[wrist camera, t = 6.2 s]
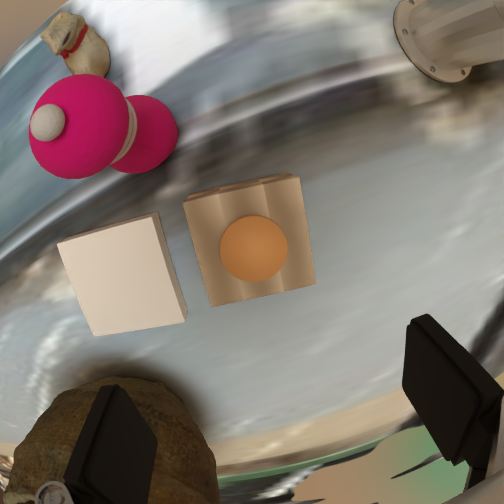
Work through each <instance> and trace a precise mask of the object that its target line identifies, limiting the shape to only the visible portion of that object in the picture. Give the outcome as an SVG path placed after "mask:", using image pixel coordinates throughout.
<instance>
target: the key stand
mask: <svg viewBox="0 0 504 504" xmlns="http://www.w3.org/2000/svg"><path fill="white" fill-rule="evenodd" d="M183 207H184V210H185V214H186V218H187V222H188V226H189V230H190V233H191V237H192V241H193V245H194V248H195V252H196V255H197V259H198V263H199V266H200V270H201V273H202V277H203V280H204V284H205V287H206V291H207V294H208V297H209V301H210V304H211V307H214V306H219V305H224V304H228V303H233V302H238V301H243V300H248V299H252V298H257V297H261V296H266V295H271V294H275V293H280V292H284V291H288V290H293V289H297V288H301V287H306V286H310V285H314V284H316V281H315V273H314V266H313V259H312V252H311V246H310V239H309V233H308V226H307V220H306V214H305V208H304V202H303V196H302V191H301V185H300V180H299V177H297V176H294V175H291V174H289V173H282V174H277V175H272V176H267V177H262V178H257V179H253V180H248V181H243V182H239V183H234V184H230V185H225V186H221V187H216V188H212V189H208V190H203V191H199V192H195V193H191V194H190V195H189V196H188V197H187V199H186V200H185V201H184V202H183ZM247 215H260V216H264V217H267V218H269V219H271V220H272V221H274V222H275V223H276V224H277V225H278V226H279V227H280V229H281V230H282V232H283V233H284V235H285V237H286V240H287V245H288V253H287V258H286V261H285V263H284V265H283V266H282V268H281V269H280V270H279V271H278V272H277V273H276V274H275V275H274V276H272V277H271V278H269V279H266V280H264V281H259V282H247V281H243V280H240V279H238V278H236V277H234V276H233V275H232V274H230V273H229V272H228V271H227V269H226V268H225V266H224V265H223V263H222V260H221V256H220V245H221V239H222V236H223V233H224V232H225V230H226V229H227V227H228V226H229V225H230V224H231V223H232V222H234V221H235V220H237V219H238V218H241V217H243V216H247Z"/></svg>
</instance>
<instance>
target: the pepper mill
mask: <svg viewBox="0 0 504 504" xmlns="http://www.w3.org/2000/svg"><path fill="white" fill-rule="evenodd" d="M177 138H178V130H177V126H176V123H175V121H174V118H173V116H172V114H171V112H170V110H169V109H168V108H167V107H166V106H165V105H164V104H163V103H162V102H160V101H159V100H157V99H155V98H152V97H149V96H144V95H133V96H129V97H125V98H124V96H123V94H122V92H121V91H120V89H119V88H118V87H117V86H115V85H114V84H113V83H112V82H111V81H109V80H108V79H106V78H104V77H101V76H97V75H93V74H76V75H72V76H69V77H66V78H63V79H61V80H60V81H58V82H56V83H55V84H53V85H52V86H51V87H50V88H48V89H47V91H46V92H45V93H44V94H43V95H42V96H41V97H40V99H39V100H38V102H37V104H36V106H35V108H34V110H33V113H32V116H31V119H30V125H29V140H30V146H31V149H32V152H33V154H34V156H35V158H36V160H37V161H38V162H39V164H40V165H41V166H42V167H43V168H44V169H45V170H47V171H48V172H50V173H51V174H53V175H55V176H57V177H62V178H66V179H81V178H85V177H89V176H92V175H94V174H96V173H98V172H100V171H102V170H103V169H104V168H106V167H107V166H108V165H110V166H111V167H113V168H114V169H116V170H118V171H121V172H125V173H143V172H147V171H149V170H152V169H153V168H155V167H157V166H158V165H160V164H161V163H162V162H163V161H164V160H165V159H166V158H167V157H168V156H169V155H170V154H171V153H172V151H173V150H174V148H175V146H176V143H177Z"/></svg>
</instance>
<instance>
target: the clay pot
mask: <svg viewBox="0 0 504 504" xmlns="http://www.w3.org/2000/svg"><path fill="white" fill-rule="evenodd" d="M113 384H118V385H119V386H120V387H121V388H124V389H125V390H126V392H127V393H128V395H129V396H130V398H131V400H132V401H133V403H134V404H135V406H136V407H137V409H138V411H139V412H140V414H141V415H142V417H143V418H144V420H145V421H146V422H147V424H148V425H149V427H150V428H151V430H152V431H153V433H154V434H155V435H156V437H157V441H158V446H157V452H156V457H155V462H154V468H153V474H152V480H151V485H150V492H149V498H148V504H220V495H219V487H218V481H217V475H216V460H215V457H214V454H213V452H212V451H211V450H210V448H209V447H208V445H207V443H206V441H205V439H204V437H203V435H202V433H201V432H200V430H199V428H198V426H197V425H196V424H195V422H194V421H193V419H192V418H191V416H190V415H189V414H188V412H187V411H186V409H185V407H184V405H183V402H182V400H181V399H180V398H179V397H177V396H176V395H174V394H173V393H171V392H170V391H168V390H167V389H166V387H165V385H164V384H163V383H162V382H160V381H147V380H144V379H139V378H126V377H125V378H122V377H121V375H120V376H111V377H107V378H102V379H98V380H94V381H92V382H90V383H87V384H85V385H83V386H81V387H79V388H76V389H72V390H67V391H64V392H62V393H61V394H59V395H58V396H57V397H56V398H55V399H54V400H53V402H52V404H51V406H50V407H49V408H48V409H47V410H46V411H45V412H44V413H43V414H42V415H41V416H40V417H39V418H38V420H37V421H36V423H35V425H34V426H33V428H32V430H31V431H30V432H29V433H28V434H27V436H26V437H25V439H24V440H23V442H22V443H20V444H19V445H18V446H17V447H16V448H15V451H14V464H13V467H12V470H11V472H10V477H9V483H8V485H7V487H6V490H5V492H4V493H3V502H4V504H35V495H36V493H37V491H38V489H39V488H40V487H41V486H42V485H43V484H45V483H47V482H50V481H58V482H61V483H62V484H64V482H65V480H64V479H63V475H64V473H65V470H66V467H67V465H68V462H69V460H70V457H71V454H72V452H73V449H74V447H75V444H76V442H77V440H78V437H79V435H80V432H81V430H82V427H83V425H84V423H85V420H86V418H87V416H88V413H89V411H90V409H91V407H92V404H93V402H94V400H95V398H96V395H97V393H98V391H99V389H100V387H101V386H103V385H113Z"/></svg>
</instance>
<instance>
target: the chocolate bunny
mask: <svg viewBox="0 0 504 504" xmlns="http://www.w3.org/2000/svg"><path fill="white" fill-rule="evenodd" d="M41 38H42V39H43V40H44V41H45V42H46V43H47V44H49V45H50V47H51V50H52V52H53V53H54V54H55V55H56V56H57V55H59V54H61V56H63V58H64V60H65V63H66V64H67V66H68V68H69V69H70V71H71V72H72V74H73V75H76V74H93V75H97V76H101V77H105V75H106V73H107V72H108V69H109V67H110V56H109V49H108V46H107V44H106V42H105V40H103V39H102V38H101V37H100V36H98V35H97V34H96V33H95V31H94V30H93V28H92V27H91V26H89V25H87V24H86V23H85V20H84V18H83V17H82V16H79V15H75V14H71V13H68V12H61V13H59V14H58V15H57V16H56V17H55V18H54V19H53V21H52V22H51V23H50V25H49V27H48V28H47V29H46V30H45V31H44V32H42V34H41Z"/></svg>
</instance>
